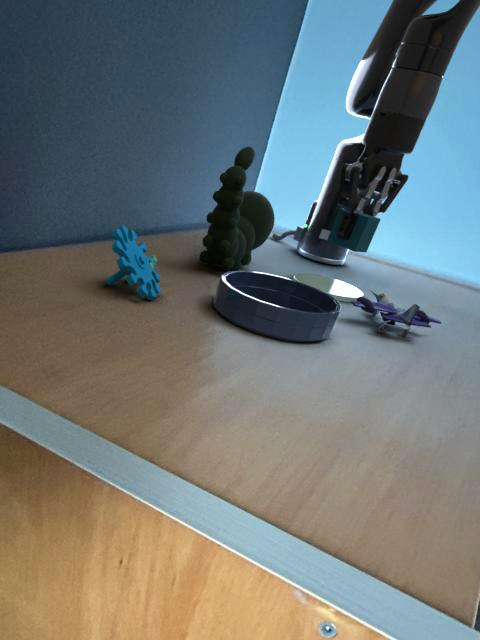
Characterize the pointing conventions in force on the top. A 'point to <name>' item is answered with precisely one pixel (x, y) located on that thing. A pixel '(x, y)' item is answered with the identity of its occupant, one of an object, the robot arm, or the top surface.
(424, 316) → the toy airplane
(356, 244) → the teal rectangular block
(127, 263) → the gear
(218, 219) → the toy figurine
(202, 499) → the top surface
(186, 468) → the top surface
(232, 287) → the bowl
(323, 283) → the plate
